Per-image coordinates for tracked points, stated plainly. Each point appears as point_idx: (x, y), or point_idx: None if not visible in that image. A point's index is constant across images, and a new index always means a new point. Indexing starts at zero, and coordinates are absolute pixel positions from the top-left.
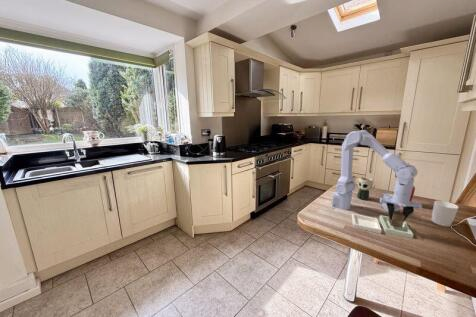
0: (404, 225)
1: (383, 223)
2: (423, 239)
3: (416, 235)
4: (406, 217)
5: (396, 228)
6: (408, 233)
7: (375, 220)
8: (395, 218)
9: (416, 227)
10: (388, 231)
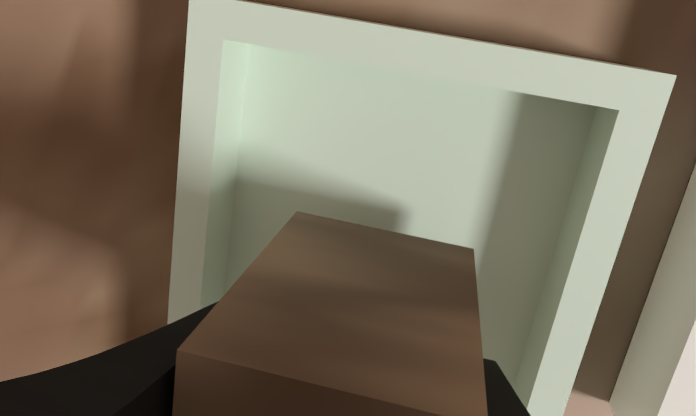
0: None
1: (603, 293)
2: (68, 63)
3: (123, 154)
4: (143, 341)
5: None
6: (266, 8)
7: (692, 400)
8: (415, 329)
9: (51, 368)
10: (601, 61)
